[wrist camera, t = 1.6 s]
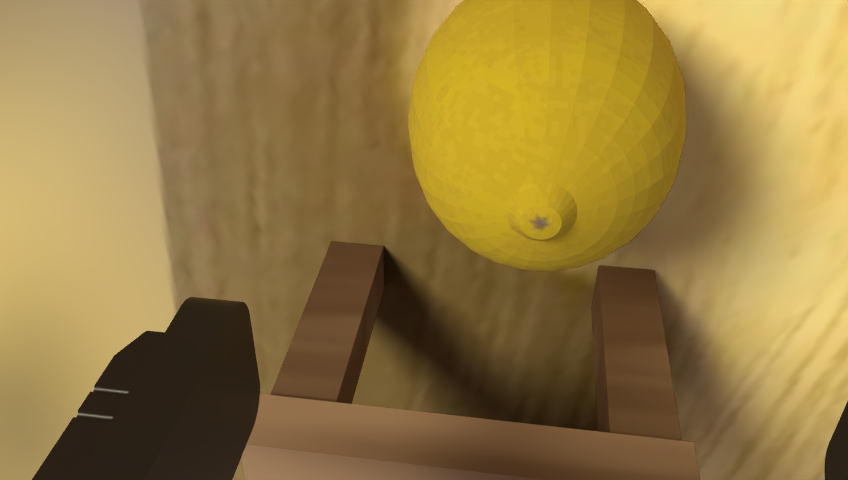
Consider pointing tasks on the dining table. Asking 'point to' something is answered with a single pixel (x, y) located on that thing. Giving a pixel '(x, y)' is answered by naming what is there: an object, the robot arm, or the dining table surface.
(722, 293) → the dining table surface
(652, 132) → the lemon
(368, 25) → the dining table surface
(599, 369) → the stool
